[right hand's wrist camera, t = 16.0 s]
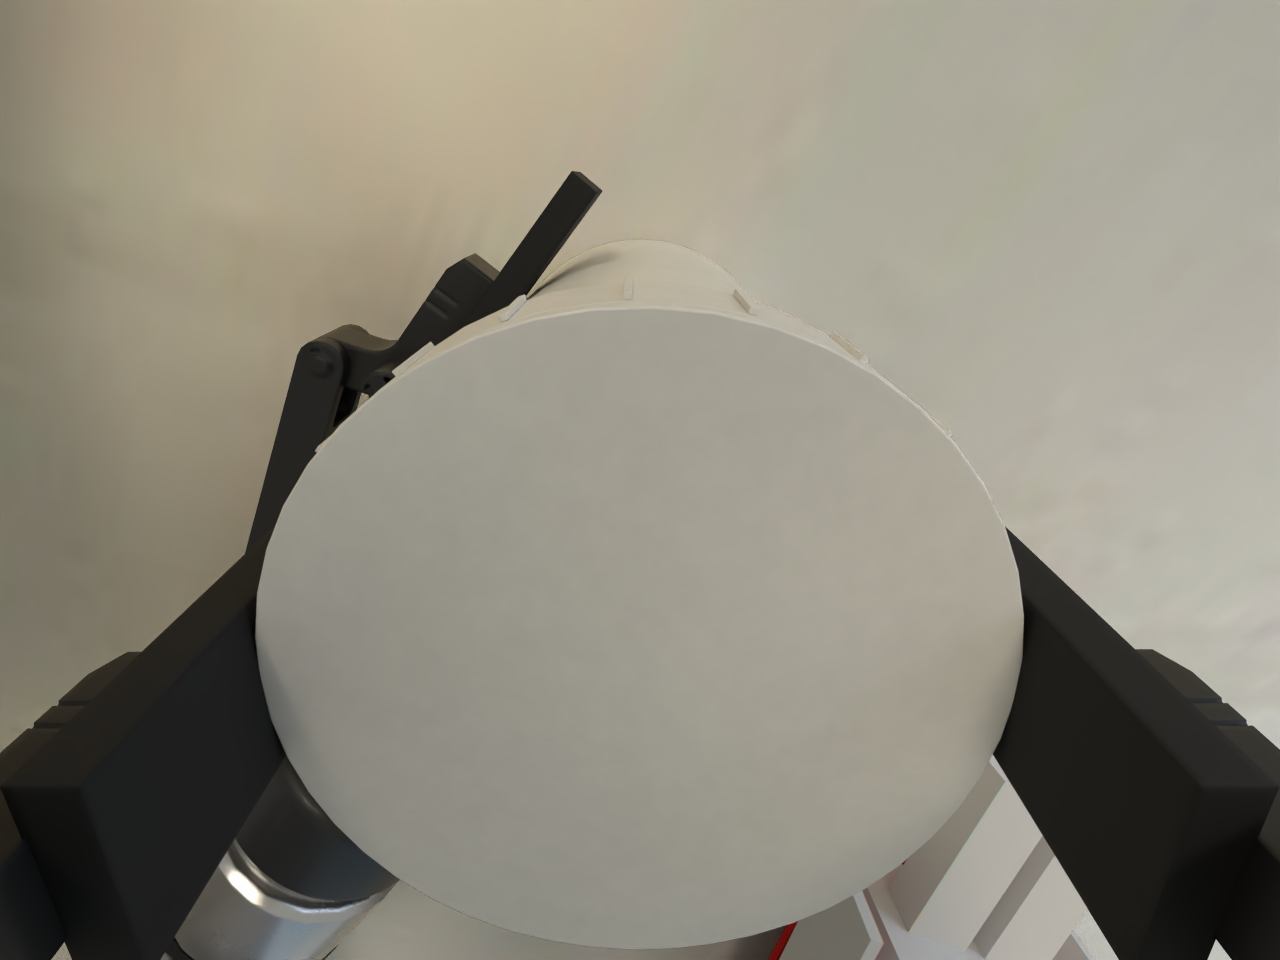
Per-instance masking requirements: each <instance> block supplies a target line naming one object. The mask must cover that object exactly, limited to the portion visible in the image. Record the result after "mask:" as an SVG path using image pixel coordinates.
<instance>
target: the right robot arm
mask: <svg viewBox="0 0 1280 960" xmlns="http://www.w3.org/2000/svg"><path fill="white" fill-rule="evenodd" d="M275 526H276V525H275ZM275 526H274V527H273V528H272V529H271V530H270V531H269V532H268V533H267V534H266V535H265V536H264V537H263V538H262V539H261V540H260V541H259V542H257V543H256V544H255V545H254V546H253V547H252V548H251V549H250V550H249V551H248V552H247V553H246V554H245V555H244V556H243V557H242V558H241V559H239V560H238V561H237V562H236V563H235V564H234V565H233V566H232V567H231V568H230V569H229V570H228V571H227V572H226V573H225V574H224V575H223V576H222V577H220V578H219V579H218V580H217V581H216V582H215V583H214V584H213V585H212V586H211V587H210V588H209V589H208V590H207V591H206V592H205V593H204V594H203V595H201V596H200V597H199V598H198V599H197V600H196V601H195V602H194V603H193V604H192V605H191V606H190V607H189V608H188V609H187V610H186V611H185V612H184V613H182V614H181V615H180V616H179V617H178V618H177V619H176V620H175V621H174V622H173V623H172V624H171V625H170V626H169V627H168V628H167V629H166V630H165V631H163V632H162V633H161V634H160V635H159V636H158V637H157V638H156V639H155V640H154V641H153V642H152V643H151V644H150V645H149V646H148V647H147V648H145V649H144V650H143V651H142V652H127V653H125V654H123V655H122V656H120V657H118V658H116V659H114V660H113V661H111V662H109V663H107V664H106V665H104V666H102V667H100V668H99V669H97V670H95V671H93V672H92V673H90V674H88V675H87V676H86V677H85V678H84V679H82V680H81V681H80V682H79V683H78V684H77V685H76V686H75V687H74V688H72V689H71V690H70V691H69V692H68V693H67V694H66V695H65V696H63V697H62V698H61V699H60V700H59V704H58V706H52V707H51V708H50V709H49V710H48V711H47V712H46V713H44V714H43V715H42V716H41V717H40V718H39V719H38V720H37V721H36V722H34V727H33V729H27V730H26V731H24V732H23V733H22V734H21V735H20V736H19V737H18V738H17V739H15V740H14V741H13V742H12V743H11V744H10V745H9V746H8V747H7V748H5V749H4V750H3V751H2V752H1V753H0V960H51V959H52V958H53V956H54V955H55V954H56V952H57V951H58V950H59V948H60V947H61V946H62V944H63V943H64V942H65V944H66V946H67V948H68V951H69V953H70V956H71V958H72V960H161V958H162V956H163V955H164V953H165V952H166V950H167V948H168V947H169V945H170V943H171V942H172V940H173V939H174V937H175V935H176V934H177V932H178V930H179V929H180V927H181V926H182V924H183V922H184V921H185V919H186V917H187V916H188V914H189V913H190V911H191V909H192V908H193V906H194V904H195V903H196V901H197V900H198V898H199V896H200V895H201V893H202V891H203V890H204V888H205V887H206V885H207V883H208V882H209V880H210V878H211V877H212V875H213V874H214V872H215V870H216V869H217V867H218V865H219V864H220V862H221V860H222V859H223V857H224V856H225V854H226V852H227V851H228V849H229V847H230V846H231V844H232V843H233V841H234V839H235V838H236V836H237V834H238V833H239V831H240V830H241V828H242V826H243V825H244V823H245V821H246V820H247V818H248V817H249V815H250V813H251V812H252V810H253V808H254V807H255V805H256V804H257V802H258V800H259V799H260V797H261V795H262V794H263V792H264V791H265V789H266V787H267V786H268V784H269V782H270V781H271V779H272V778H273V776H274V774H275V773H276V771H277V769H278V768H279V766H280V765H281V763H282V761H283V760H284V758H285V756H286V753H285V751H284V748H283V746H282V744H281V741H280V739H279V737H278V735H277V732H276V730H275V728H274V725H273V723H272V721H271V718H270V714H269V710H268V706H267V702H266V698H265V693H264V689H263V685H262V681H261V676H260V671H259V666H258V658H257V649H256V640H255V630H256V608H257V592H258V587H259V582H260V577H261V572H262V568H263V563H264V558H265V553H266V549H267V546H268V544H269V541H270V539H271V536H272V533H273V531H274V528H275ZM1005 528H1006V527H1005ZM1006 531H1007V535H1008V538H1009V541H1010V545H1011V548H1012V551H1013V555H1014V558H1015V562H1016V565H1017V568H1018V572H1019V580H1020V588H1021V596H1022V604H1023V612H1024V630H1023V659H1022V664H1021V669H1020V673H1019V678H1018V682H1017V687H1016V691H1015V696H1014V700H1013V704H1012V708H1011V711H1010V714H1009V717H1008V720H1007V723H1006V725H1005V728H1004V731H1003V734H1002V737H1001V739H1000V741H999V743H998V745H997V747H996V749H995V751H994V753H993V756H994V757H995V759H996V760H997V762H998V764H999V765H1000V767H1001V769H1002V770H1003V772H1004V773H1005V775H1006V777H1007V778H1008V780H1009V782H1010V783H1011V785H1012V786H1013V788H1014V790H1015V791H1016V793H1017V795H1018V796H1019V798H1020V799H1021V801H1022V803H1023V804H1024V806H1025V808H1026V809H1027V811H1028V812H1029V814H1030V816H1031V817H1032V819H1033V821H1034V822H1035V824H1036V825H1037V827H1038V829H1039V830H1040V832H1041V834H1042V835H1043V837H1044V838H1045V840H1046V842H1047V843H1048V845H1049V847H1050V848H1051V850H1052V851H1053V853H1054V855H1055V856H1056V858H1057V860H1058V861H1059V863H1060V864H1061V866H1062V868H1063V869H1064V871H1065V873H1066V874H1067V876H1068V877H1069V879H1070V881H1071V882H1072V884H1073V886H1074V887H1075V889H1076V891H1077V892H1078V894H1079V895H1080V897H1081V899H1082V900H1083V902H1084V904H1085V905H1086V907H1087V908H1088V910H1089V912H1090V913H1091V915H1092V917H1093V918H1094V920H1095V921H1096V923H1097V925H1098V926H1099V928H1100V930H1101V931H1102V933H1103V934H1104V936H1105V938H1106V939H1107V941H1108V943H1109V944H1110V946H1111V947H1112V949H1113V951H1114V952H1115V954H1116V956H1117V957H1118V959H1119V960H1207V959H1208V957H1209V954H1210V952H1211V949H1212V947H1213V945H1214V942H1215V940H1216V939H1217V941H1218V942H1219V943H1220V945H1221V946H1222V947H1223V949H1224V950H1225V951H1226V953H1227V954H1228V955H1229V957H1230V958H1231V959H1232V960H1280V750H1279V749H1278V748H1277V747H1276V746H1275V745H1274V744H1273V743H1272V742H1270V741H1269V740H1268V739H1267V738H1266V737H1265V736H1264V735H1263V734H1261V733H1260V732H1259V731H1258V730H1257V729H1256V728H1255V727H1254V726H1248V725H1247V723H1246V719H1245V718H1243V717H1242V716H1241V715H1240V714H1239V713H1238V712H1237V711H1236V710H1235V709H1233V708H1232V707H1231V706H1230V705H1229V704H1228V703H1222V698H1221V697H1220V696H1219V695H1218V694H1217V693H1215V692H1214V691H1213V690H1212V689H1211V688H1210V687H1209V686H1208V685H1206V684H1205V683H1204V682H1203V681H1202V680H1201V679H1200V678H1199V677H1197V676H1196V675H1195V674H1194V673H1193V672H1192V671H1190V670H1188V669H1186V668H1184V667H1183V666H1181V665H1179V664H1177V663H1176V662H1174V661H1172V660H1170V659H1169V658H1167V657H1165V656H1163V655H1161V654H1160V653H1158V652H1156V651H1154V650H1153V649H1134V648H1133V647H1132V646H1131V645H1130V644H1129V643H1128V642H1127V641H1126V640H1124V639H1123V638H1122V637H1121V636H1120V635H1119V634H1118V633H1117V632H1116V631H1115V630H1114V629H1113V628H1112V627H1111V626H1110V625H1109V624H1108V623H1107V622H1105V621H1104V620H1103V619H1102V618H1101V617H1100V616H1099V615H1098V614H1097V613H1096V612H1095V611H1094V610H1093V609H1092V608H1091V607H1090V606H1089V605H1088V604H1086V603H1085V602H1084V601H1083V600H1082V599H1081V598H1080V597H1079V596H1078V595H1077V594H1076V593H1075V592H1074V591H1073V590H1072V589H1071V588H1070V587H1069V586H1067V585H1066V584H1065V583H1064V582H1063V581H1062V580H1061V579H1060V578H1059V577H1058V576H1057V575H1056V574H1055V573H1054V572H1053V571H1052V570H1051V569H1050V568H1048V567H1047V566H1046V565H1045V564H1044V563H1043V562H1042V561H1041V560H1040V559H1039V558H1038V557H1037V556H1036V555H1035V554H1034V553H1033V552H1032V551H1031V550H1029V549H1028V548H1027V547H1026V546H1025V545H1024V544H1023V543H1022V542H1021V541H1020V540H1019V539H1018V538H1017V537H1016V536H1015V535H1014V534H1013V533H1011V532H1010V531H1009V530H1008V529H1007V528H1006Z"/></svg>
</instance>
